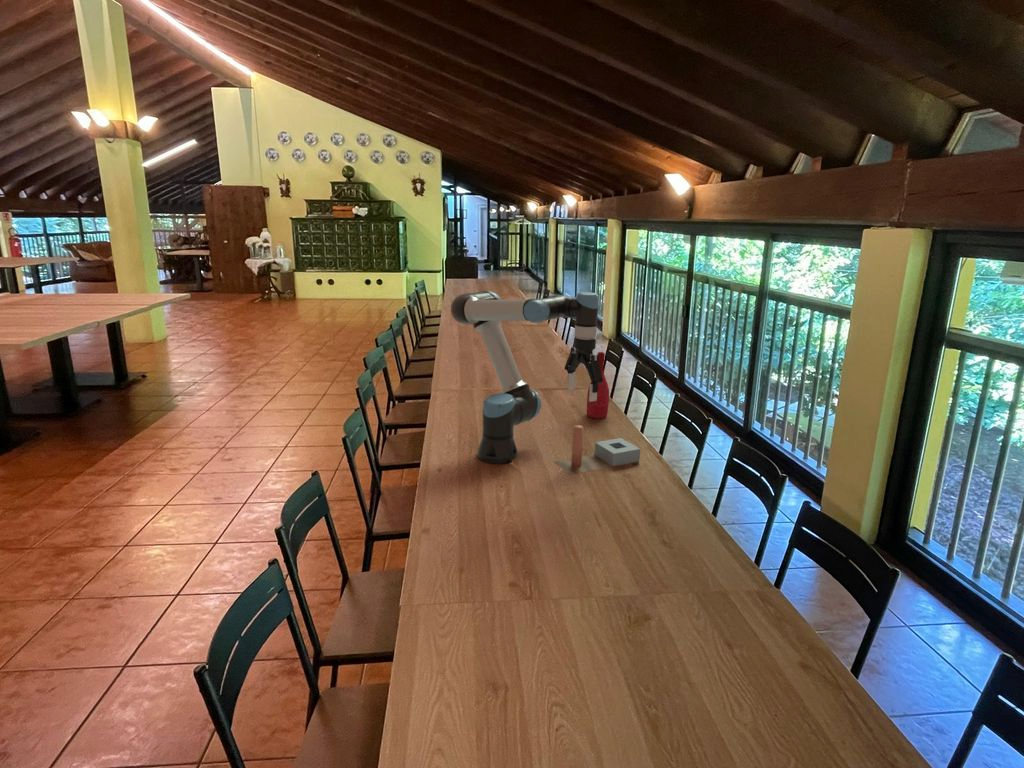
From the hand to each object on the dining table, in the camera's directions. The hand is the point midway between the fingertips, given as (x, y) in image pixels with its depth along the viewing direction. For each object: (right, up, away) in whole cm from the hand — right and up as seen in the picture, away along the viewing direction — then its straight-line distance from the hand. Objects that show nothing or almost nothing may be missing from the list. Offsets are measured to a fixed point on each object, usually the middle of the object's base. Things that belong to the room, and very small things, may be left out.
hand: (581, 395), depth 220 cm
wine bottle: (+14, -11, +62) cm, 65 cm away
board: (+7, -26, +10) cm, 28 cm away
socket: (+15, -25, +13) cm, 32 cm away
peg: (-1, -26, +5) cm, 26 cm away
